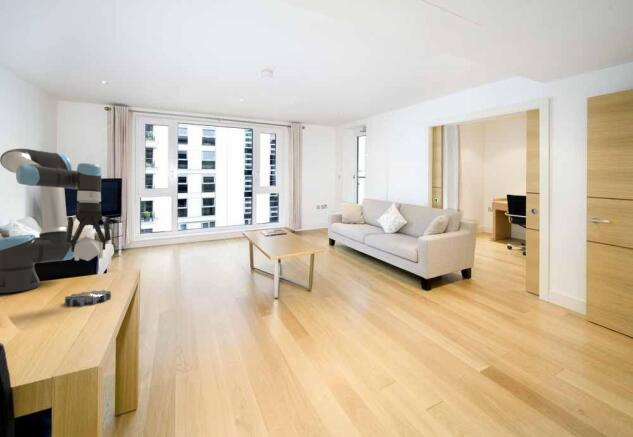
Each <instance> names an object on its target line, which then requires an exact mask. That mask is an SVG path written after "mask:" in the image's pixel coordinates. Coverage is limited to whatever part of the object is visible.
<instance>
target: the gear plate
mask: <svg viewBox="0 0 633 437" xmlns="http://www.w3.org/2000/svg"><path fill="white" fill-rule="evenodd" d="M111 299H112V292H111V290H107V291H106V290H105V289H103V290H92V291H81V292H79V293H72V294H70V295H66V296H65V298H64V306H69V307H75V306H80V307H85V306H87V305H88V306H89V305H93V306H94V305H97V304H99V303H106V302H107V300H111Z"/></svg>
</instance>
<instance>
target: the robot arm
mask: <svg viewBox="0 0 633 437" xmlns="http://www.w3.org/2000/svg"><path fill="white" fill-rule="evenodd" d="M0 164H1V167H3V168H4V169H5V170H6V171H8V172H10V173H13V174H15V177H16V182H17V183H18V184H19V185H24V186H28V187H29V186H31V187H32V186H35V187H40V196H41V198H40V199H41V200H40V201H41V215H42V216H41V217H42V227H43V230H42V231H41V232H39V234H38V235H39V236H38V237H36V236H35V234H21V235H13V236H6V237H1V238H0V294H5V293H7V294H9V293H16V292H17V293H18V292H23V291H28V290H33V289H37V288H39V287H40V282H41V281H40V278H39V276H38V275H37V273H36V270H35V264H38V263H39V264H40V263H50V262H62V261H67V260H69V261H70V260H72V259H74V261H80V258H79V257H78V256H76V257H74V256H73V252H74V248H75V244H76V243H77V242H78V241H79V240H80V236H81V234H82V232H83V230H84V228H85V227H86V226H93V228H94V229H95V232H96V234H97V236H98V239H99V241H100V254H98V255H97V258H98V259H103V258H104V257H103V256H104V253H103V251H105V250H106V243H107V242H108V241H109V242H110V241H111V240H112V237H111V228H110V220H111V217H110V216H103V215H102V203H100V202H102V193H101V192H102V167H101V166H100V165H98V164H95V163H88V162H87V163H86V162H85V163H84V162H82V163H81V162H80V163H78V164H77V169H76V170H73V167H72V162H71V160H70V158H69V157H68V156H67V155H65V154H60V153H57V152H50V151H49V152H48V151H44V150H37V149H31V148H30V149H29V148H13V149H8V150H6V151H4V152H3V153H2V154H1V155H0ZM65 189H70V190H71V189H72V190H76V192H77V194H76V201H77V203H76V213H75V215H72V216H67V206H66V194H65V192H66V191H65ZM76 220H77V221H78V222H79V223H78V226H77V228H76V231H74V232H75V233H73V229H74V223H75V221H76ZM101 220H102V222H103V223H102V224H103V230H104V233H103V230H102V229H101V226H100V223H99V222H101ZM73 234H74V235H73Z"/></svg>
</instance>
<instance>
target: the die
mask: <svg viewBox="0 0 633 437" xmlns="http://www.w3.org/2000/svg"><path fill="white" fill-rule="evenodd" d="M100 242H101V241H100V240H96V239H94V238H91V237H89V236H84V237H83V238H81V239H78V242H77V243H76V244H75V248H74V252H73V256H74V257H73V258H75V257H76V256H78V257H79V260H84V261H87V262H89V261H91V260H92V259H94V258H96V257H98V254H100Z"/></svg>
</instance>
